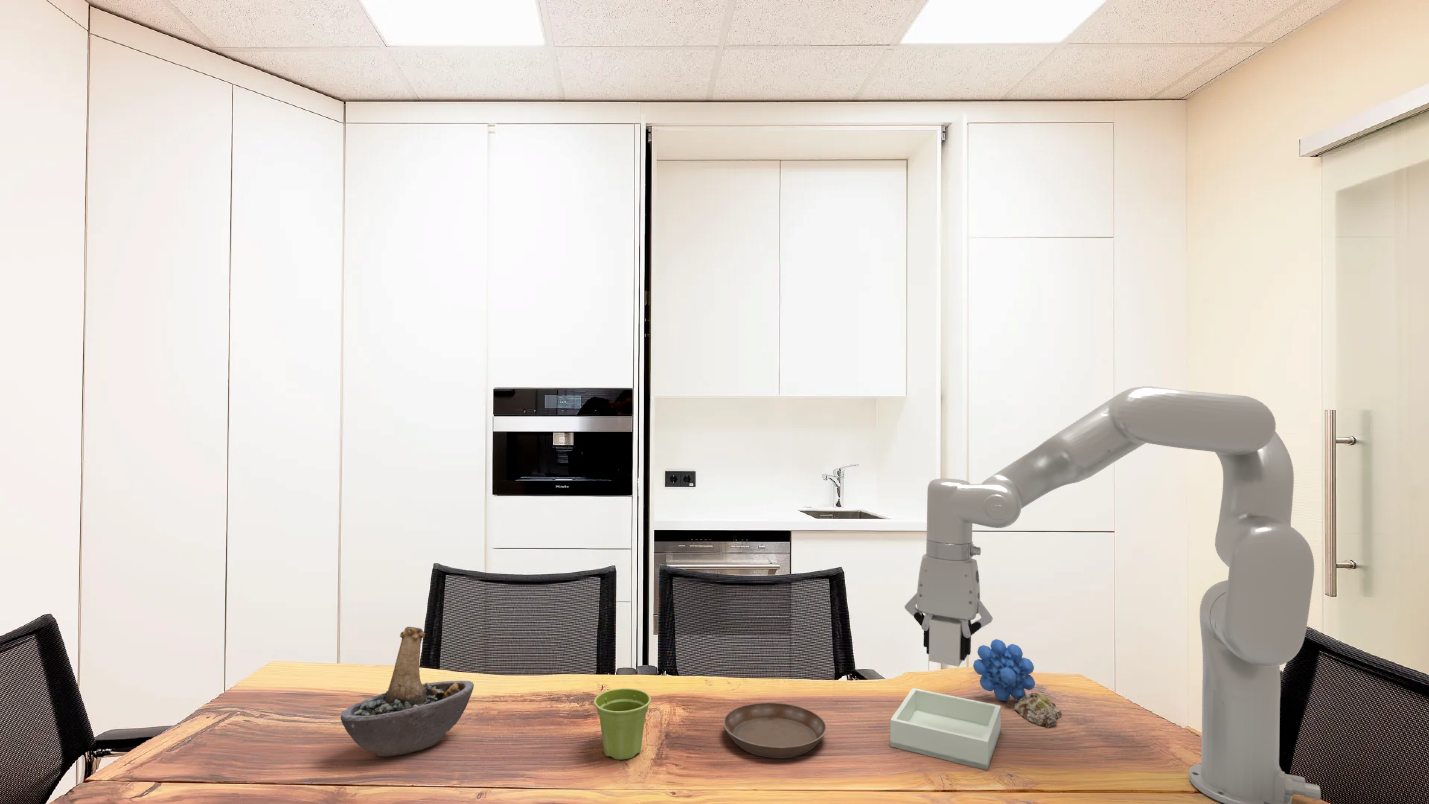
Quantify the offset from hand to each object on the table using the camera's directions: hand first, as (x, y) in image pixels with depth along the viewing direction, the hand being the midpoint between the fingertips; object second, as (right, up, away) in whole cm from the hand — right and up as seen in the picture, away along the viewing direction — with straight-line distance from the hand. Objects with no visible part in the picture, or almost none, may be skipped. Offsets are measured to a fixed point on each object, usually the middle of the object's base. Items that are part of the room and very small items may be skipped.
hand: (946, 653), depth 125 cm
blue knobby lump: (+16, -15, +15) cm, 27 cm away
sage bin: (0, -15, 0) cm, 15 cm away
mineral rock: (+20, -15, +10) cm, 27 cm away
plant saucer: (-30, -15, -1) cm, 34 cm away
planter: (-91, -14, -6) cm, 92 cm away
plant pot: (-56, -14, -6) cm, 58 cm away
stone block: (0, -1, 0) cm, 1 cm away
